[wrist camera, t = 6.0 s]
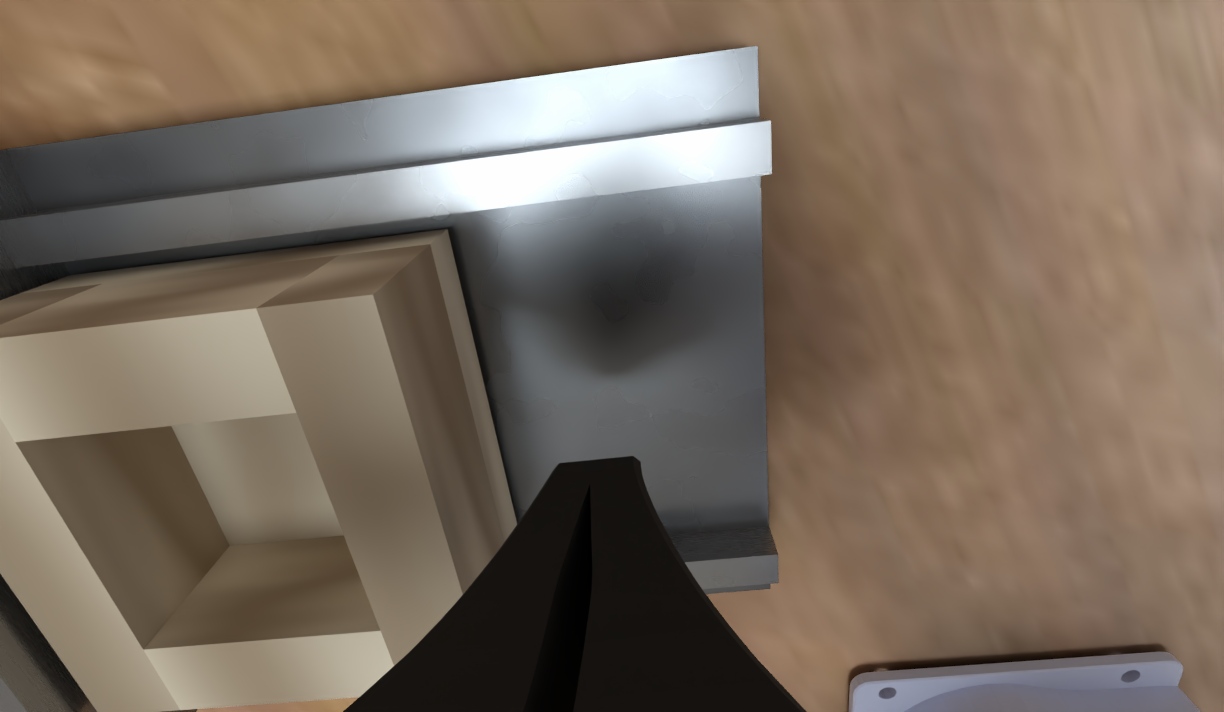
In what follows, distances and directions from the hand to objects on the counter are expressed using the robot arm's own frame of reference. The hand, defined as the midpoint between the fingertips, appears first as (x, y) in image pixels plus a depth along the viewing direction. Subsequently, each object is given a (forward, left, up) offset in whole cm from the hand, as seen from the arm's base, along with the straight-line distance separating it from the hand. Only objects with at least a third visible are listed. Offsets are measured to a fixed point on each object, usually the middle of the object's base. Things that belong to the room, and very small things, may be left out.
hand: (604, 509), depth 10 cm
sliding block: (+7, 0, -4) cm, 8 cm away
